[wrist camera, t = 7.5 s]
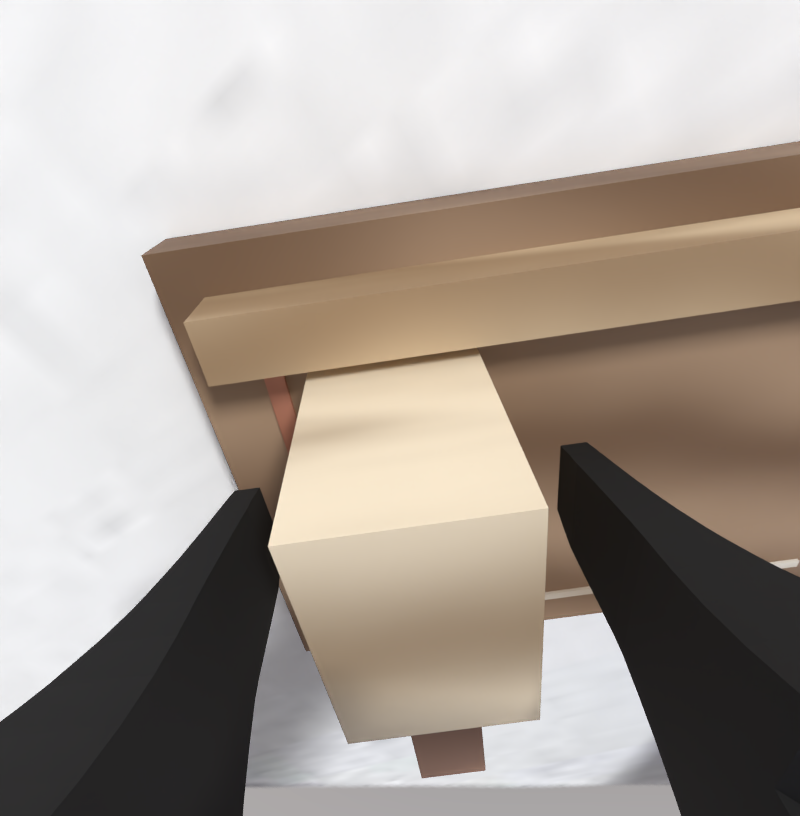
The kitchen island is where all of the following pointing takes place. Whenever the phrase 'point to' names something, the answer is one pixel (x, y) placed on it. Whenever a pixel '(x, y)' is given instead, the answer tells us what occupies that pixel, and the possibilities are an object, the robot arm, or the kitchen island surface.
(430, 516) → the mallet
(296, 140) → the kitchen island surface
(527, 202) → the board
